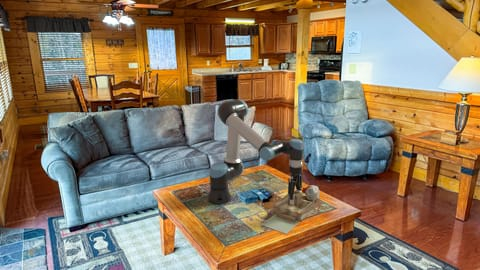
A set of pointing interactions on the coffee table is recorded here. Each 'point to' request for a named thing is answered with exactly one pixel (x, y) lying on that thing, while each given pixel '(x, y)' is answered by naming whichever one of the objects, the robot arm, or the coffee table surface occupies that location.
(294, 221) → the lid
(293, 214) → the box
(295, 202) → the walnut block
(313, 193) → the candle
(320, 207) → the coffee table surface
